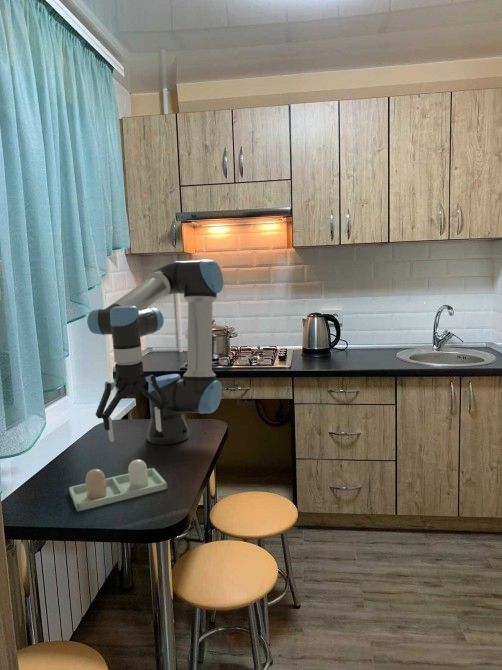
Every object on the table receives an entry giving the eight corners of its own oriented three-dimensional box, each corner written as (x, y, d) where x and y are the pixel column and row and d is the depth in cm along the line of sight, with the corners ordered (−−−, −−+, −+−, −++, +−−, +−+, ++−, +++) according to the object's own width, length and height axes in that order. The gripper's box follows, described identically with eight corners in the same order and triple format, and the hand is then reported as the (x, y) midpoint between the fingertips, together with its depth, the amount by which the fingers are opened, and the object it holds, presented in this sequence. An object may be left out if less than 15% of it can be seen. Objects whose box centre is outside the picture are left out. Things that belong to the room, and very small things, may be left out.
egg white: (145, 480, 151) (143, 455, 150) (150, 486, 146) (148, 460, 145) (127, 484, 149) (125, 459, 147) (132, 491, 144) (130, 465, 143)
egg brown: (104, 490, 146) (102, 464, 145) (108, 497, 141) (106, 470, 140) (85, 494, 143) (83, 468, 142) (89, 501, 139) (86, 475, 138)
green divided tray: (153, 475, 156) (153, 467, 156) (167, 491, 145) (167, 483, 144) (69, 495, 145) (69, 487, 145) (77, 514, 134) (76, 505, 133)
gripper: (167, 353, 151) (173, 422, 155) (79, 366, 140) (88, 440, 143) (176, 357, 145) (181, 429, 148) (84, 371, 133) (93, 449, 137)
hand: (135, 435), depth 146 cm, fingers open, 13 cm apart
